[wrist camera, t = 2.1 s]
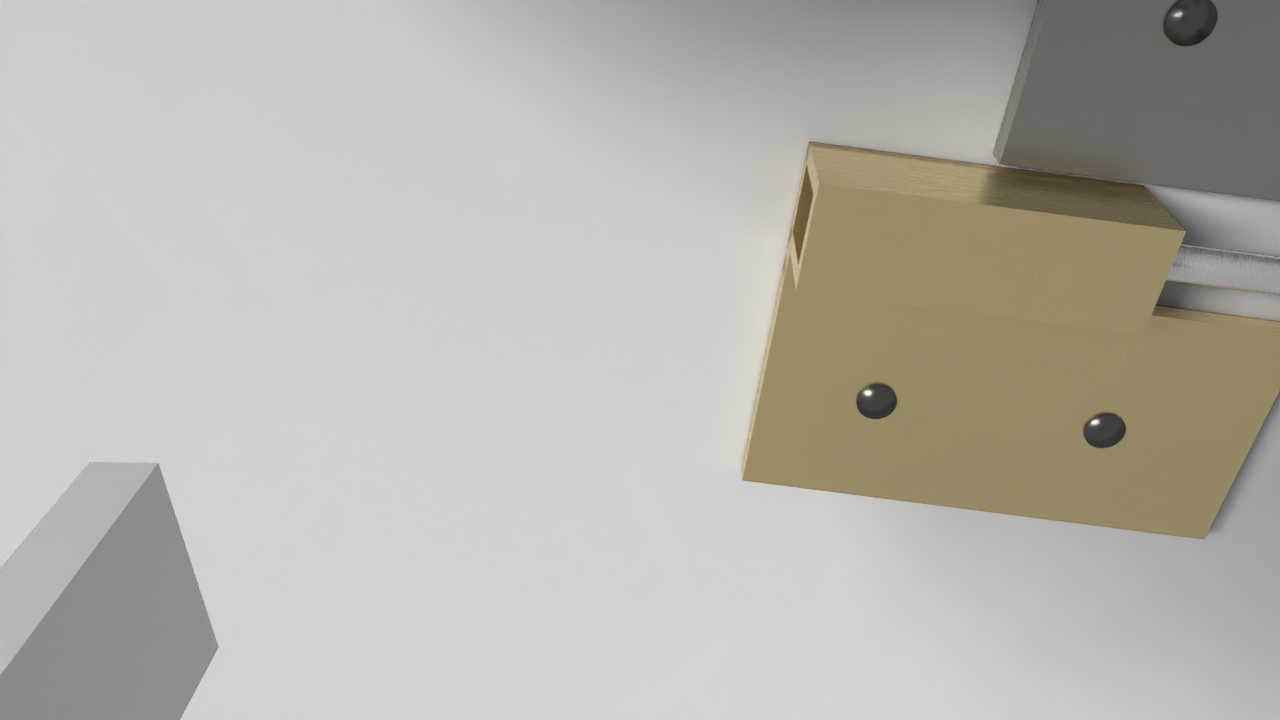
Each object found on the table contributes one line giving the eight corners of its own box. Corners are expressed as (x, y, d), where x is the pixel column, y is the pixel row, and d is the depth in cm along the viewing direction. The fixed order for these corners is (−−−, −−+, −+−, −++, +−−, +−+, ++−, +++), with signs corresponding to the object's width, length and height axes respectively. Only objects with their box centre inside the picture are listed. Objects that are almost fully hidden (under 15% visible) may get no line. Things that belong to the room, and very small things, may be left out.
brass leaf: (741, 467, 34) (744, 528, 32) (808, 141, 29) (819, 183, 26) (1195, 525, 35) (1236, 591, 32) (1351, 212, 29) (1416, 261, 26)
